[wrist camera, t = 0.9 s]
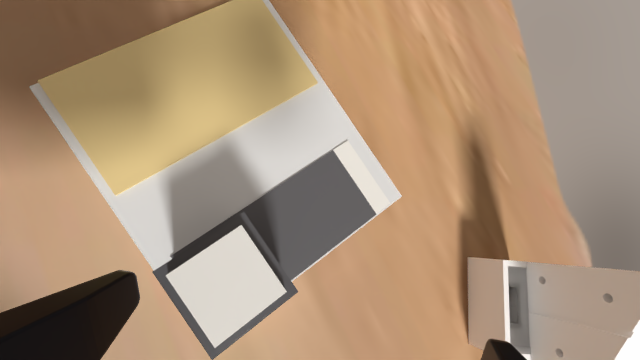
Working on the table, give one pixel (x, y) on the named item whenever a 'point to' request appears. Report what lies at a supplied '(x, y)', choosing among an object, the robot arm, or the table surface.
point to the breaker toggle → (225, 284)
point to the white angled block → (554, 309)
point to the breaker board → (219, 138)
